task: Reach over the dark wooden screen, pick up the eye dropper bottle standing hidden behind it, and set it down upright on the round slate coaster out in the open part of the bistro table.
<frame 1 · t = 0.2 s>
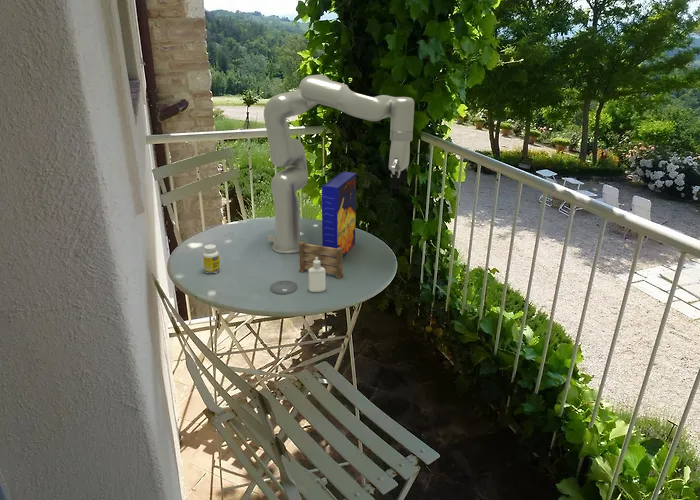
hand: (399, 185, 174), 31 cm above the table, tool pointing down, fingers open, 9 cm apart
eye dropper bottle: (317, 290, 168), on the table
cereal box: (339, 253, 197), on the table
supplement bottle: (212, 272, 181), on the table
coaster: (283, 288, 169), on the table
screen: (321, 273, 180), on the table
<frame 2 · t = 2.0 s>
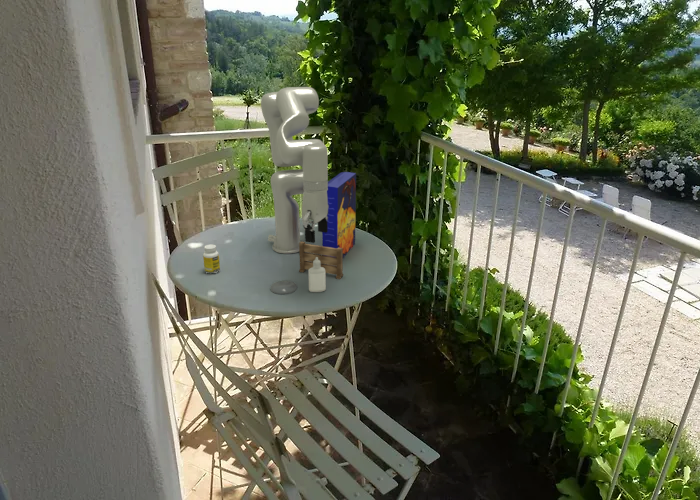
hand: (316, 236, 160), 19 cm above the table, tool pointing down, fingers open, 9 cm apart
nothing on the table moved.
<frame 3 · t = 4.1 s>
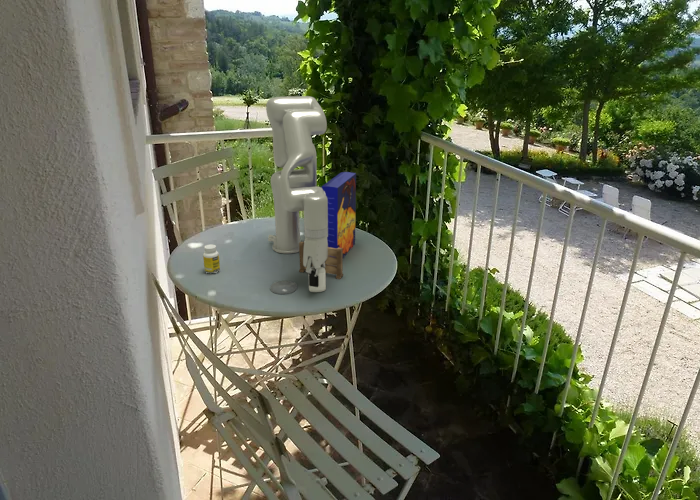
hand: (317, 282, 167), 3 cm above the table, tool pointing down, fingers closed on eye dropper bottle, 4 cm apart
eye dropper bottle: (317, 290, 168), on the table, touching gripper
everything else where it was.
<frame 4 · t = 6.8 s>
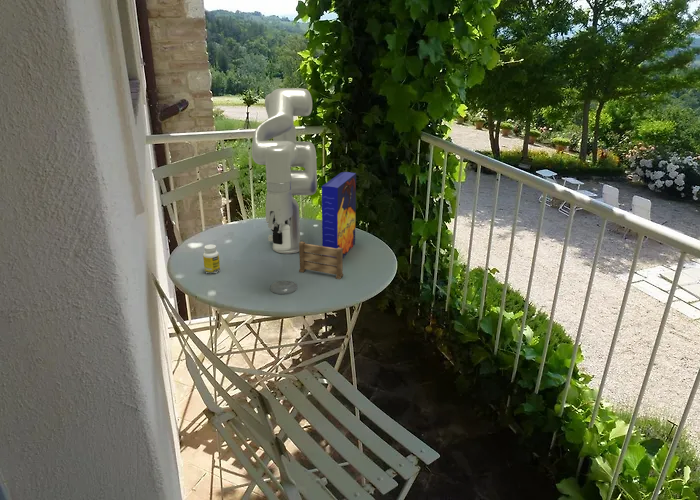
hand: (281, 240, 162), 17 cm above the table, tool pointing down, fingers closed on eye dropper bottle, 4 cm apart
eye dropper bottle: (282, 249, 163), point 14 cm above the table, touching gripper
everything else where it was.
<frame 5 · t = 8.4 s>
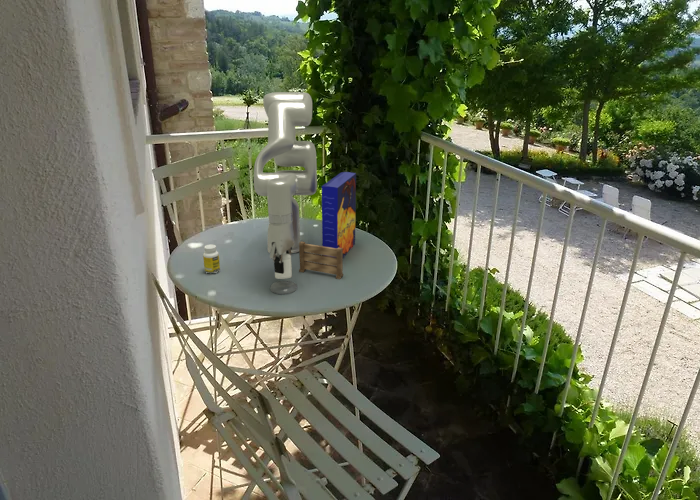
hand: (283, 269, 166), 7 cm above the table, tool pointing down, fingers closed on eye dropper bottle, 4 cm apart
eye dropper bottle: (283, 277, 167), point 4 cm above the table, touching gripper
everything else where it was.
when the fingers open (4 cm above the table, at t = 9.4 s): eye dropper bottle stays where it is, resting on coaster.
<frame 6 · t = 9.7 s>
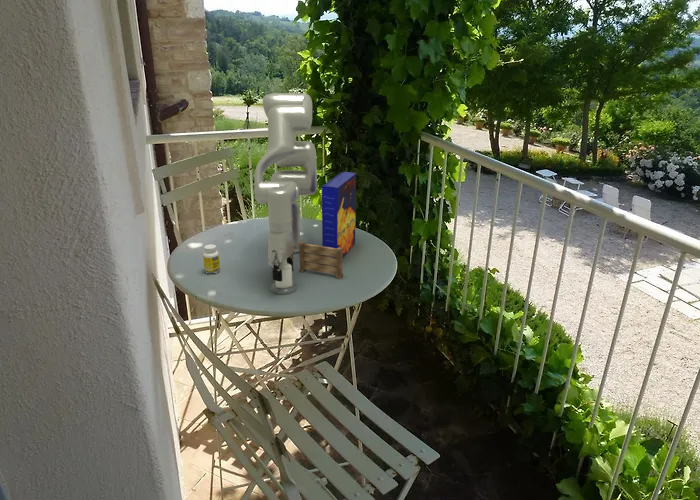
hand: (283, 275, 167), 5 cm above the table, tool pointing down, fingers open, 7 cm apart
eye dropper bottle: (284, 286, 169), resting on coaster
everything else where it was.
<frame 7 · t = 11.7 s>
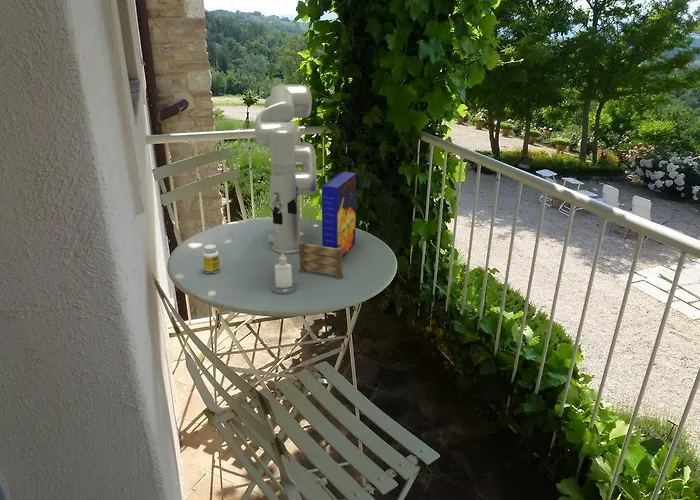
hand: (285, 218, 164), 23 cm above the table, tool pointing down, fingers open, 9 cm apart
nothing on the table moved.
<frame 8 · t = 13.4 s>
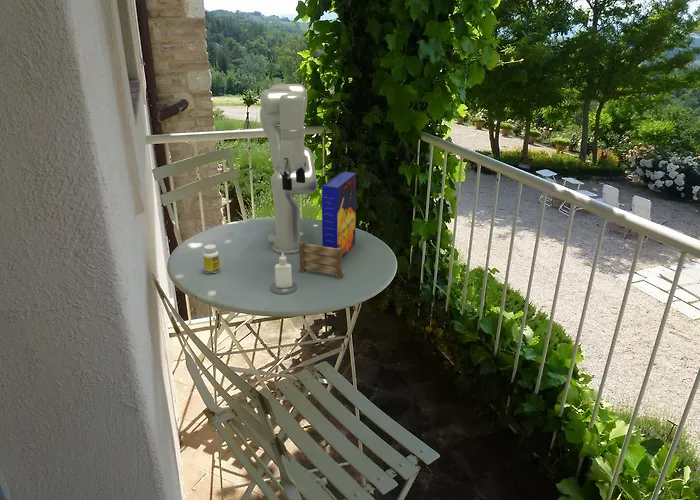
hand: (294, 186, 167), 32 cm above the table, tool pointing down, fingers open, 9 cm apart
nothing on the table moved.
at the end: eye dropper bottle 0.2 cm from the coaster (horizontally); eye dropper bottle tilted 0°; eye dropper bottle resting on coaster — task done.
